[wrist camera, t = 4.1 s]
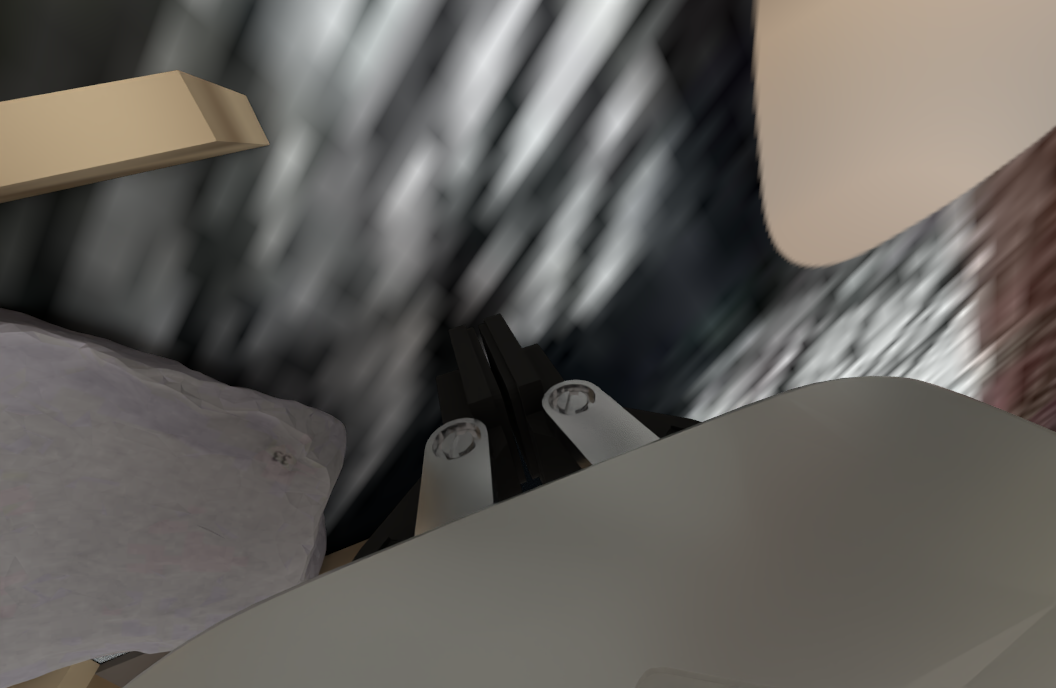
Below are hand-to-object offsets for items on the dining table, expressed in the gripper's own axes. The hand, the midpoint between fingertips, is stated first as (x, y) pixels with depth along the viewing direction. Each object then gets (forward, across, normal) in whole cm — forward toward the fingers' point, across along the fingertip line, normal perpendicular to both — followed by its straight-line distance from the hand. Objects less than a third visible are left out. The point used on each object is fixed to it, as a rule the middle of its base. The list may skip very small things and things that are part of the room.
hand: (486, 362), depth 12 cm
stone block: (+2, +11, 0) cm, 11 cm away
